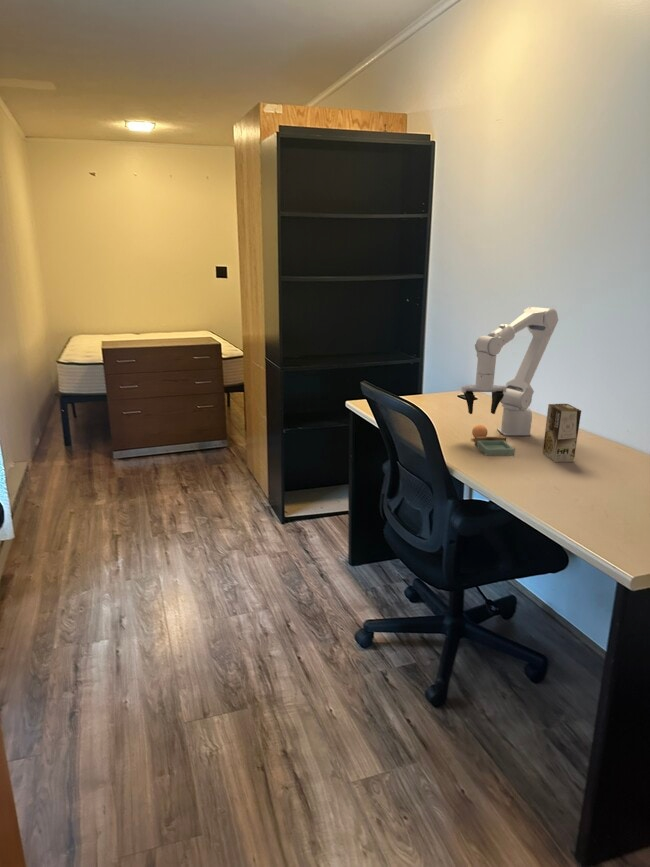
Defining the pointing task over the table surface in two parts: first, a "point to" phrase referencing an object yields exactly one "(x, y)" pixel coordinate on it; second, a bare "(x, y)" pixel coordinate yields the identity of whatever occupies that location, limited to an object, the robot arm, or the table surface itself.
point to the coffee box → (561, 432)
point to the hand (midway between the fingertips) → (481, 413)
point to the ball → (479, 431)
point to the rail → (489, 439)
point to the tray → (495, 448)
